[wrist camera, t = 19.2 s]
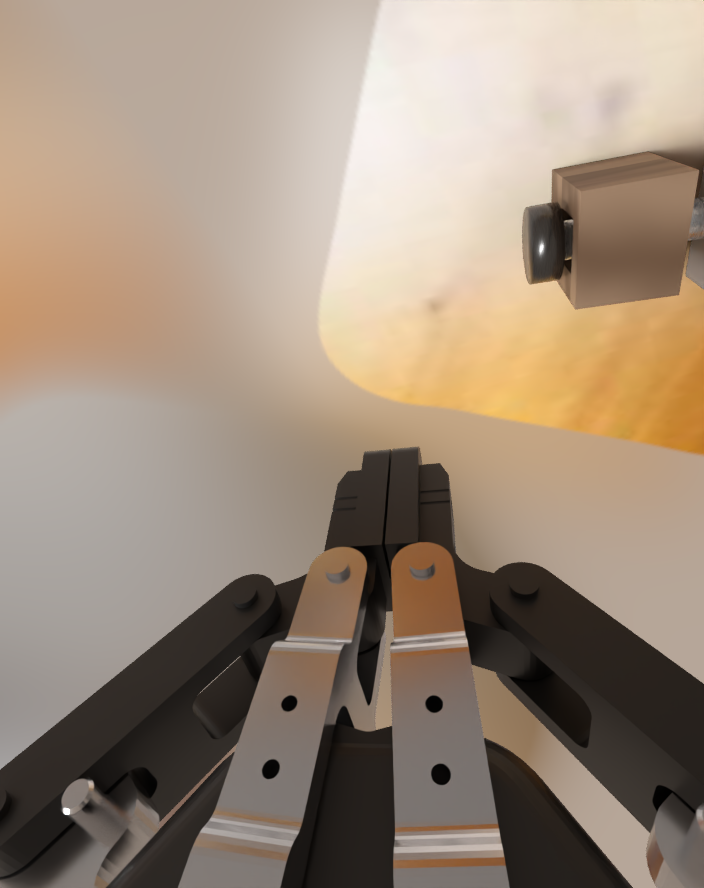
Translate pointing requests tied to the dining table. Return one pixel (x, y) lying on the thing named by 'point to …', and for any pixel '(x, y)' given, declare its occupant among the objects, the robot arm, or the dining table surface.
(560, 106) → the dining table surface
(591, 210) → the guide block
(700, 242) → the grey open frame
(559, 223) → the shaft
